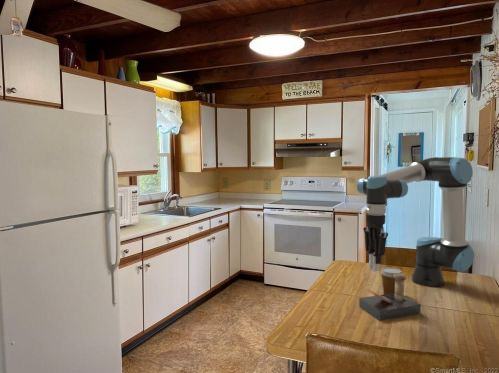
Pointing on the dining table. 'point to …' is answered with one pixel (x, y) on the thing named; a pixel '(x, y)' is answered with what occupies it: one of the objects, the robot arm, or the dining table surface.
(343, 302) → the dining table surface
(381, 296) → the keeper tab
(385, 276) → the disposable coffee cup
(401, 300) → the peg
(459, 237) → the robot arm
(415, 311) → the plate
